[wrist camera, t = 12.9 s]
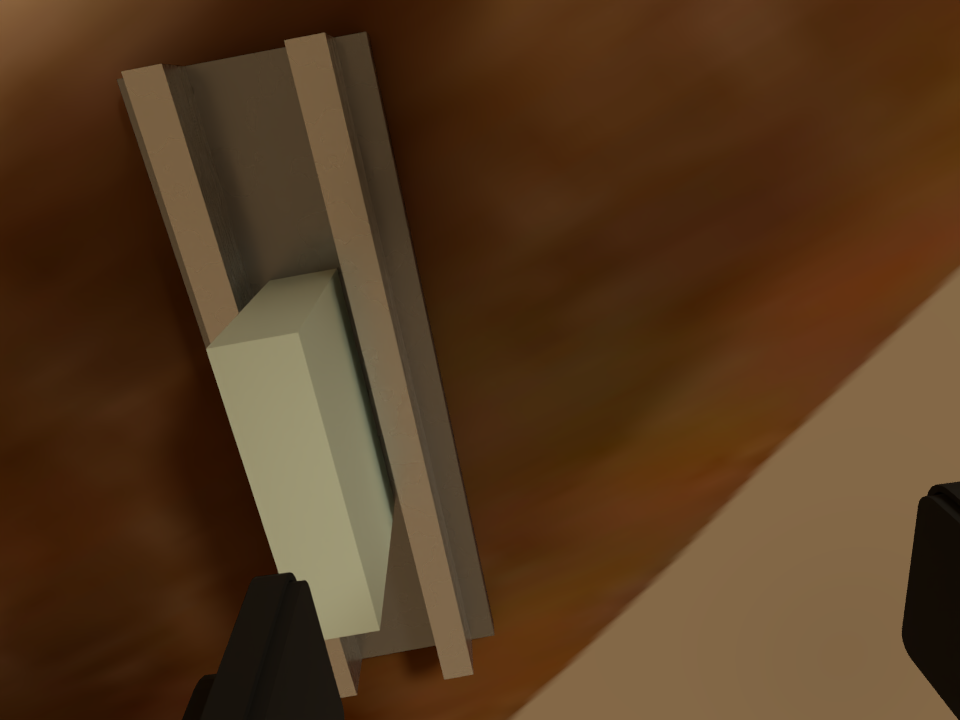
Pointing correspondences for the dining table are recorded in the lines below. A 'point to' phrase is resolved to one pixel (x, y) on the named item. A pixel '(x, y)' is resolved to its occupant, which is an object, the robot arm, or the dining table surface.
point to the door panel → (310, 444)
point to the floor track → (313, 248)
